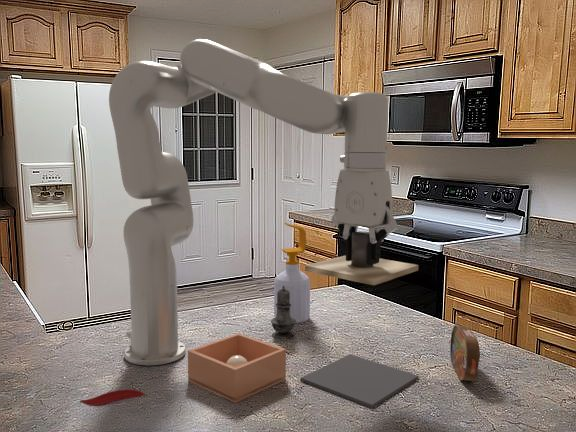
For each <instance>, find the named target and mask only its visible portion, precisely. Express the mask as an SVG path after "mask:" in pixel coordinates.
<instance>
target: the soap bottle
mask: <svg viewBox="0 0 576 432" xmlns="http://www.w3.org/2000/svg"><path fill="white" fill-rule="evenodd" d="M284 225H286V226H287V227H291V228H294V229H297V230H298V232H299V235H298V237H299V238H298V240H299V241H298V242H299V243H298V247H293V248H292V247H291V248H282V249H281V251H282V252H283V253H285V254H286V255H287V256H288V259H286V261H285V269H284V270H283V271H281V272H280V273H279V274H278V275H276V276H275V278H274V281H273V284H274V285H273V286H274V287H273V294H274V295H273V297H274V298H273V318H276V315H277V306H276V304H277V293H278V291H279V290H281V289H283V288H282V287H283V286H284V287H285V289H286V290H288V291H289V293H290V304H291V306H290V316H291V318H293V319H295V320H296V323H295V324H299V323H304V322H306V321H308V320H309V319H310V317H311V316H310V315H311V313H310V311H311V307H310V306H311V280H310V277H309V276H308V275H307V274H306V273H305V272H303V271H302V270H300V261H299V260H298V259H297V257H298V255H299V254H301V253H304V252H305V251H306V247H307V245H306V244H307V243H306V242H307V236H306V235H307V233H306V230H305V229H304V228H302V227H300V226H298V225H296V224H291V223H288V222H285V223H284Z"/></svg>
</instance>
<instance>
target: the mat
mask: <svg viewBox="0 0 576 432" xmlns="http://www.w3.org/2000/svg"><path fill="white" fill-rule="evenodd" d="M417 380H419V375H417V374H414V373H410V372H407V371H405V370H402V369H399V368H395V367H392V366H389V365H386V364H382V363H379V362H376V361H373V360H370V359H367V358H363V357H360V356H358V355H353V354H351V353H349V354H348V355H345V356H343V357H340V358H339V359H337V360H335V361H333V362H330V363H329V364H326V365H324V366H323V367H320V368H318V369H316V370H314V371H312V372H310V373H308V374H306V375H304V376H302V377H300V382H303V383H306V384H307V385H308V384H309V385H311V386H313V387H316V388H319V389H321V390H323V391H327V392H328V393H332V394H334V395H337V396H340V397H342V398H345V399H348V400H350V401H353V402H356V404H357V403H358V404H360V405H363V406H366V407H369V408H371V409H372V408H375V407H376V406H378V405H379V404H380V403H383V402H384V401H386V400H387V399H389V398H390V397H392V396H393V395H395V394H396V393H398V392H401V390H403V389H404V388H406V387H408V386H410V385H411V384H412V383H414V382H415V381H417Z"/></svg>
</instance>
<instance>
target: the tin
mask: <svg viewBox="0 0 576 432" xmlns="http://www.w3.org/2000/svg"><path fill="white" fill-rule="evenodd" d="M480 350H481V349H480V343H479V341H478V339H477V338H476V336H475V335H474V332H473V331H472V330H471V329H470V327H468V326H466V325H458V324H455V325H454V326H453V328H452V332H451V336H450V351H449V354H450V362H451V365H452V367H453V369H454V372H455V373H456V376H457V379H459V381H465V382H474V381H475V382H476V380H477V378H478V374H479V373H478V372H479V364H480V363H479V362H480V359H481V352H480Z"/></svg>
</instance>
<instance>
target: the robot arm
mask: <svg viewBox="0 0 576 432" xmlns="http://www.w3.org/2000/svg"><path fill="white" fill-rule="evenodd" d="M216 93H217V94H220V95H223V96H225V97H227V98H230V99H232V100H234V101H237V102H238V103H241V104H243V105H246V106H247V107H249V108H251V109H253V110H258V111H259V112H262V113H264V114H266V115H268V116H271V117H273V118H274V119H277V120H279V121H282V122H284V123H286V124H289V125H292V126H293V127H295V128H298V129H301V130H303V131H305V132H307V133H311V134H316V135H317V134H319V135H334V134H341V133H344V152H343V155H340V157H339V161H340V163H343V169H340V170H339V173H338V178H337V182H336V183H337V184H336V190H335V195H334V197H335V198H334V207H333V208H334V211H333V215H332V217H331V219H330V220H331V222H332V223H333V225H335V226H336V227H337V228H338V230H339V231H340V233H341V234H342V238H343V240H344V241H345V248H344V249H345V251H344V252H345V253H344V254H345V255H346V261H351V256H352V233H353V232H358V228H359V227H364V228H368V232H369V236H370V243H368V244H367V264H368V265H373V264H377V263H379V259H381V254H382V253H381V251H382V250H381V247H382V246H381V245H382V242H384V240H385V239H386V238H387V237H388V236H389V235H390V234H392V233H393V232H395V231H396V230H398V229H399V225H398V223H397V220H396V219H395V217H394V215H393V192H392V190H393V189H392V184H391V183H392V181H391V176H390V172H389V170H387V147H388V145H387V144H388V123H389V122H388V117H389V112H388V111H389V100H388V97H387V96H386V95H385V94H384V93H381V92H373V91H371V92H370V91H369V92H367V91H364V92H363V91H360V92H359V91H358V92H353V93H350V94H349V95H341V94H336V93H332V92H330V91H327V90H324V89H321V88H319V87H317V86H314V85H311V84H309V83H307V82H304V81H301V80H300V79H296V78H294V77H292V76H290V75H287V74H285V73H283V72H280V71H279V70H277V69H275V68H274V67H272V66H271V65H270V64H268V63H267V62H264V61H262V60H260V59H256V58H254V57H251V56H249V55H246V54H244V53H242V52H239V51H237V50H234V49H232V48H230V47H227V46H224V45H222V44H220V43H217V42H215V41H212V40H210V39H202V38H198V39H194V40H191V41H189V42H188V43H187V44H186V45H185V46H183V48H182V50H181V52H180V57H179V64H178V65H176V66H170V65H165V64H162V63H159V62H155V61H151V60H150V61H149V60H139V61H135V62H131V63H129V64H127V65H125V66H124V67H123V68H122V69H121V70H119V71H118V73H116V75H115V76H114V78H113V80H112V82H111V85H110V90H109V94H108V103H109V104H108V105H109V111H110V116H111V119H112V120H111V121H112V124H113V125H112V126H113V130H114V134H115V135H114V136H115V142H116V149H117V155H118V162H119V168H120V175H121V181H122V185H123V188H124V191H126V193H127V194H128V196H130V197H131V198H133V199H136V200H150V205H147V206H146V205H145V206H143V207H140V208H138V209H136V210H134V211H133V212H132V213H131V214H130V215H129V216H128V217H127V218H126V220H125V222H124V225H123V240H124V246H125V249H126V250H125V251H126V254H127V261H128V271H129V272H128V273H129V292H130V293H129V294H130V296H129V297H130V299H129V300H130V322H131V323H130V324H131V325H130V327H131V330H128V331H127V332H126V333H125V336H126V338H128V339H130V345H128V346H127V347H126V348H125V350H124V352H123V353H124V354H123V355H124V358H125V360H126V361H127V362H128V363H131V364H134V365H139V366H160V365H167V364H170V363H172V362H173V363H174V362H176V361H178V360H180V359H182V358H183V357H184V356H185V354H186V345H185V343H183V342H181V341H179V324H178V322H179V321H178V318H179V317H178V277H177V273H178V272H177V265H176V261H175V258H174V255H173V252H172V247H174V246H175V245H178V244H181V243H183V242H184V241H186V240H187V239H188V238H189V237H190V236H191V234H192V232H193V229H194V212H193V205H192V199H191V191H190V183H189V180H188V174H187V171H186V168H185V166H184V164H183V162H182V161H181V160H180V159H179V158H178V157H177V156H175V154H173V153H169V152H164V151H162V145H161V140H160V132H159V128H158V125H157V123H156V120H155V118H154V116H153V114H152V111H151V110H152V108H153V107H157V108H162V109H164V108H165V109H179V108H182V107H184V106H188V105H190V104H192V103H195V102H197V101H199V100H202V99H204V98H206V97H208V96H211V95H213V94H216ZM385 225H386V226H385ZM383 226H385V227H383Z"/></svg>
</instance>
